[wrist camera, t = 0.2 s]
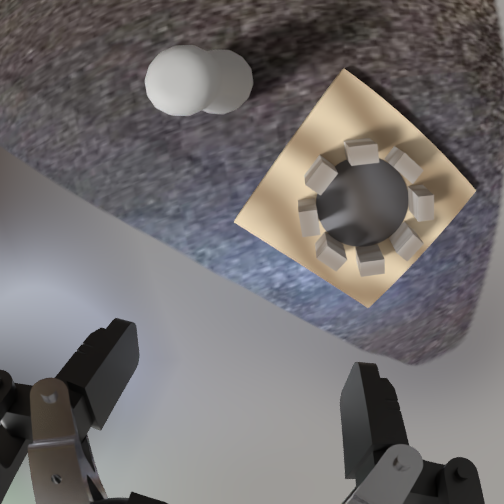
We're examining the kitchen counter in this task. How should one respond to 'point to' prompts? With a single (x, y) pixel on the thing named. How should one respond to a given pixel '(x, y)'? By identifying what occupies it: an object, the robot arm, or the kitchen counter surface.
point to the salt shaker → (198, 81)
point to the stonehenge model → (356, 192)
